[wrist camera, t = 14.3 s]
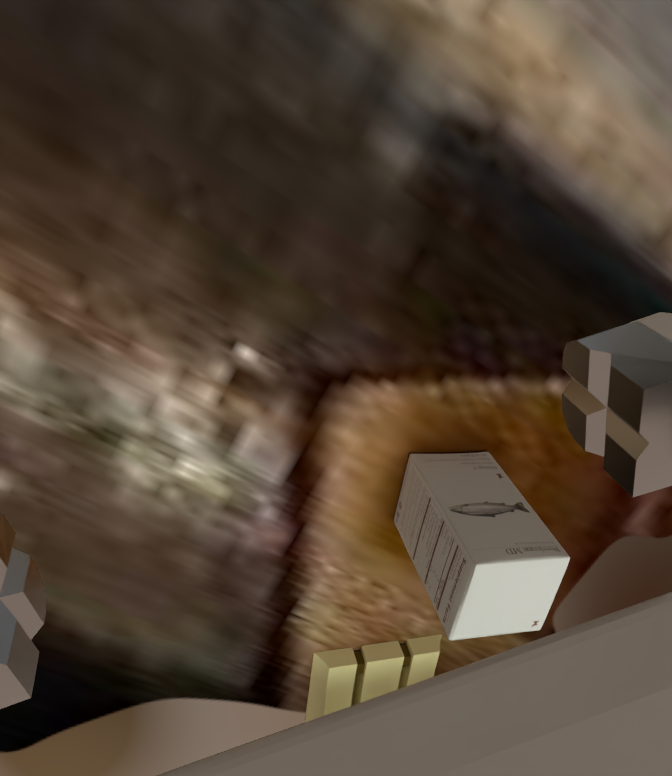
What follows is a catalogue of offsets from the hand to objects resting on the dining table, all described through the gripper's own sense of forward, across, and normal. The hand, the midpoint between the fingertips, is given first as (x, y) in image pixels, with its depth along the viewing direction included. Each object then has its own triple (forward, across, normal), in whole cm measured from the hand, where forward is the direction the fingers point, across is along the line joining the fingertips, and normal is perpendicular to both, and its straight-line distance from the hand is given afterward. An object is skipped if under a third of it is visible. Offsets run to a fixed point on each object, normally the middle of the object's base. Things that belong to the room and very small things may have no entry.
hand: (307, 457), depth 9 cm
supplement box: (+31, -12, +31) cm, 46 cm away
